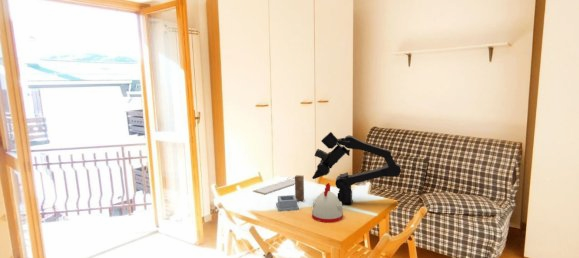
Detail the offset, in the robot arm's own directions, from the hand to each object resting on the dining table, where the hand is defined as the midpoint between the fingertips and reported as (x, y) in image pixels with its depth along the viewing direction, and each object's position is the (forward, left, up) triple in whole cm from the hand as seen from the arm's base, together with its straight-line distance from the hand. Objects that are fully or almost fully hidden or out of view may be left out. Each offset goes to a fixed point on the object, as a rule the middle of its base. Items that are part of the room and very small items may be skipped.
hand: (314, 176), depth 166 cm
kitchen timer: (-13, +17, -14) cm, 25 cm away
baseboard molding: (+31, -17, -14) cm, 38 cm away
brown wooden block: (+8, +2, -13) cm, 15 cm away
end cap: (+10, +13, -13) cm, 21 cm away
